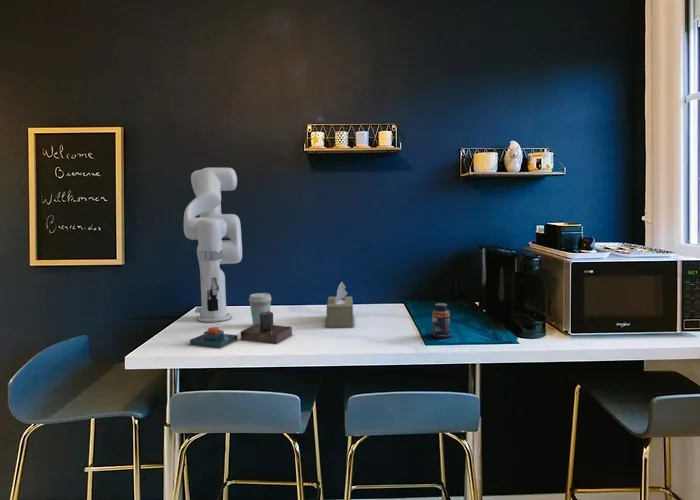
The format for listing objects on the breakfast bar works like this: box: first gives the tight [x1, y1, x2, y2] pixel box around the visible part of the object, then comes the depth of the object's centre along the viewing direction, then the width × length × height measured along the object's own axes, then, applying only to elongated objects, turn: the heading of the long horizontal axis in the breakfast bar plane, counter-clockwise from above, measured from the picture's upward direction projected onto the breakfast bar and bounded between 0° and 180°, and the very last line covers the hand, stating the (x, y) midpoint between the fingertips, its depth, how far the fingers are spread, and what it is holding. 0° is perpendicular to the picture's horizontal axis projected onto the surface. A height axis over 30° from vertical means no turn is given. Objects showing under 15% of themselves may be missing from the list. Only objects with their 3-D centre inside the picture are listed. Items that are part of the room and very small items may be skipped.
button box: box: [189, 329, 238, 349], centre depth 170 cm, size 12×10×4 cm
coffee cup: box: [248, 292, 273, 326], centre depth 191 cm, size 8×8×12 cm
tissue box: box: [326, 281, 354, 328], centre depth 196 cm, size 19×10×16 cm, turn 0°
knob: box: [259, 310, 274, 331], centre depth 175 cm, size 5×5×6 cm
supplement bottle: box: [432, 302, 451, 339], centre depth 175 cm, size 6×6×11 cm
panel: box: [240, 324, 293, 344], centre depth 176 cm, size 14×11×3 cm
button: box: [207, 326, 220, 334], centre depth 170 cm, size 4×4×2 cm
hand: (212, 310), depth 169 cm, fingers closed
